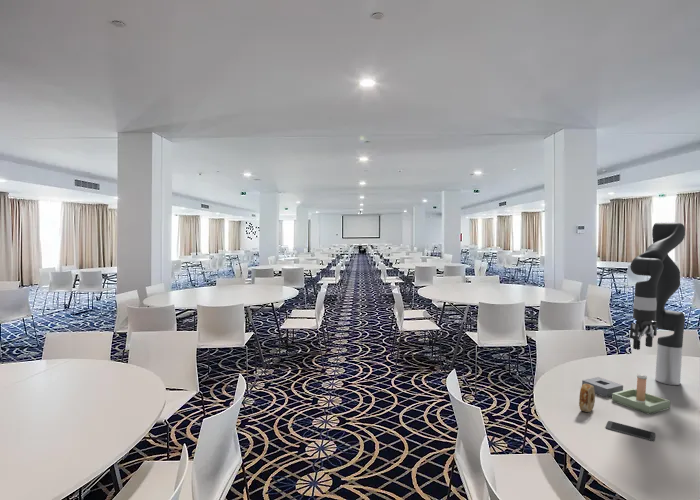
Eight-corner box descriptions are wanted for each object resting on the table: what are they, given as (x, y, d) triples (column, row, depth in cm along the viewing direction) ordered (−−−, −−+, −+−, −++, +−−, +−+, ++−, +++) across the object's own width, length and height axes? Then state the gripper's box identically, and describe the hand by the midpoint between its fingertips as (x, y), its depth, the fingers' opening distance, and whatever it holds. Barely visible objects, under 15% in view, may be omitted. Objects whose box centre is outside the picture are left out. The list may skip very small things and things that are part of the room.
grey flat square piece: (597, 384, 188) (598, 376, 188) (622, 393, 178) (623, 385, 178) (581, 388, 183) (582, 380, 183) (606, 397, 174) (607, 389, 173)
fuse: (638, 400, 169) (640, 373, 169) (647, 403, 166) (648, 376, 166) (633, 401, 168) (635, 374, 167) (642, 404, 165) (644, 377, 164)
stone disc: (587, 416, 155) (589, 389, 154) (576, 412, 158) (578, 386, 157) (596, 408, 162) (597, 383, 162) (585, 405, 165) (587, 380, 164)
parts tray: (632, 395, 176) (632, 388, 176) (669, 408, 164) (670, 400, 164) (611, 400, 170) (612, 393, 170) (649, 414, 158) (649, 406, 158)
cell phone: (607, 422, 151) (608, 420, 151) (655, 434, 142) (655, 432, 142) (604, 429, 145) (605, 427, 145) (654, 443, 137) (654, 440, 137)
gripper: (644, 305, 173) (642, 343, 174) (624, 307, 167) (622, 347, 168) (665, 308, 166) (662, 348, 167) (644, 311, 160) (642, 352, 161)
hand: (642, 347), depth 167 cm, fingers open, 8 cm apart
